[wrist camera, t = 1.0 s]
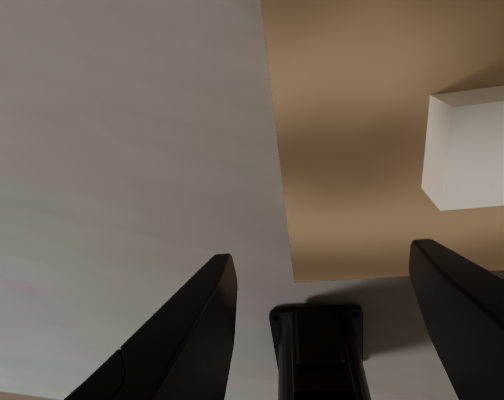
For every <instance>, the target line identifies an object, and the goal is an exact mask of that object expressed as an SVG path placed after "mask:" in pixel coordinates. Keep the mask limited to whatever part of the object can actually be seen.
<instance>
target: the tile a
mask: <svg viewBox="0 0 504 400" xmlns="http://www.w3.org/2000/svg"><path fill="white" fill-rule="evenodd" d="M421 188H422V189H423V191H424V192H425V193H426V194H427V195H428V197H429V198H430V199H431V200H432V202H433V203H434V204H435V205H436V206H437V208H438V209H439V210H440V211H445V210H457V209H468V208H480V207H492V206H504V86H496V87H488V88H481V89H473V90H465V91H458V92H450V93H442V94H435V95H430V101H429V111H428V122H427V133H426V143H425V154H424V165H423V175H422V186H421Z"/></svg>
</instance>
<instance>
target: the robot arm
mask: <svg viewBox="0 0 504 400" xmlns="http://www.w3.org/2000/svg"><path fill="white" fill-rule="evenodd" d="M409 275H410V278H411V282H412V285H413V288H414V291H415V294H416V297H417V300H418V303H419V306H420V309H421V312H422V315H423V318H424V321H425V324H426V327H427V330H428V333H429V335H430V338H431V340H432V342H433V345H434V347H435V349H436V351H437V353H438V356H439V358H440V360H441V362H442V364H443V366H444V368H445V371H446V373H447V375H448V377H449V379H450V381H451V384H452V386H453V388H454V390H455V392H456V394H457V397H458V399H459V400H504V279H503V278H502V277H500V276H498V275H496V274H494V273H492V272H491V271H489V270H487V269H485V268H483V267H482V266H480V265H478V264H476V263H474V262H473V261H471V260H469V259H467V258H465V257H463V256H462V255H460V254H458V253H456V252H454V251H453V250H451V249H449V248H447V247H445V246H444V245H442V244H440V243H438V242H436V241H434V240H432V239H429V238H428V239H415V240H413V241H412V242H411V245H410V257H409ZM236 303H237V277H236V272H235V268H234V263H233V259H232V256H231V255H230V254H228V253H227V254H216V255H214V256H213V257H212V258H211V259H210V260H209V261H208V262H207V263H206V264H205V265H204V266H203V267H202V268H201V269H200V270H199V271H198V272H196V273H195V274H194V275H193V276H192V277H191V278H190V279H189V280H188V281H187V282H186V283H185V284H184V285H183V286H182V287H181V288H180V289H179V290H178V291H177V292H176V293H175V294H174V295H173V296H172V297H171V298H170V299H169V300H168V301H167V302H166V303H165V304H164V305H163V306H162V307H161V308H160V309H159V310H158V311H157V312H156V313H155V314H154V315H153V316H152V317H151V318H150V319H149V320H148V321H146V322H145V323H144V324H143V325H142V326H141V327H140V328H139V329H138V330H137V331H136V332H135V333H134V334H133V335H132V336H131V337H130V338H129V339H128V340H127V341H126V342H125V343H124V344H123V345H122V346H121V350H120V349H118V350H117V351H116V352H115V353H114V354H113V355H112V356H111V357H110V358H109V359H108V360H107V361H106V362H104V363H103V364H102V365H101V366H100V367H99V368H98V369H97V370H96V371H95V372H94V373H93V374H92V375H91V376H90V377H89V378H87V379H86V380H85V381H84V382H83V383H82V384H81V385H80V386H79V387H78V388H76V389H75V390H74V391H73V392H72V393H71V394H70V395H68V396H67V397H66V398H65V399H64V400H224V397H225V392H226V386H227V380H228V375H229V369H230V363H231V358H232V352H233V345H234V336H235V320H236ZM353 312H355V313H353ZM269 320H270V326H271V331H272V337H273V343H274V348H275V354H276V360H277V365H278V369H279V393H278V400H371V397H370V393H369V388H368V384H367V380H366V375H365V371H364V367H363V313H362V309H361V307H360V306H358V305H341V306H321V307H301V308H282V309H273V310H271V311H270V313H269Z"/></svg>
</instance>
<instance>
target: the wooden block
mask: <svg viewBox="0 0 504 400" xmlns="http://www.w3.org/2000/svg"><path fill="white" fill-rule="evenodd" d="M261 6H262V14H263V23H264V31H265V39H266V48H267V56H268V65H269V73H270V81H271V90H272V98H273V107H274V115H275V124H276V132H277V140H278V149H279V157H280V166H281V174H282V182H283V191H284V199H285V208H286V216H287V224H288V233H289V241H290V250H291V258H292V266H293V275H294V283H302V282H319V281H335V280H352V279H368V278H385V277H401V276H410V275H409V257H410V245H411V242H412V241H413V240H415V239H428V238H429V239H432V240H434V241H436V242H438V243H440V244H442V245H444V246H445V247H447V248H449V249H451V250H453V251H454V252H456V253H458V254H460V255H462V256H463V257H465V258H467V259H469V260H471V261H473V262H474V263H476V264H478V265H480V266H482V267H483V268H485V269H487V270H489V271H500V270H504V206H492V207H480V208H468V209H457V210H445V211H440V210H439V209H438V208H437V206H436V205H435V204H434V203H433V202H432V200H431V199H430V198H429V197H428V195H427V194H426V193H425V192H424V191H423V189H422V188H421V186H422V175H423V165H424V154H425V143H426V133H427V122H428V111H429V101H430V95H435V94H442V93H450V92H458V91H465V90H473V89H481V88H488V87H496V86H504V0H261Z"/></svg>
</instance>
